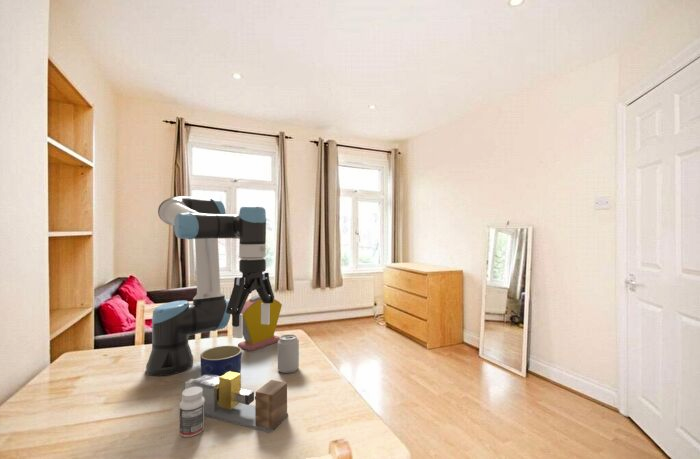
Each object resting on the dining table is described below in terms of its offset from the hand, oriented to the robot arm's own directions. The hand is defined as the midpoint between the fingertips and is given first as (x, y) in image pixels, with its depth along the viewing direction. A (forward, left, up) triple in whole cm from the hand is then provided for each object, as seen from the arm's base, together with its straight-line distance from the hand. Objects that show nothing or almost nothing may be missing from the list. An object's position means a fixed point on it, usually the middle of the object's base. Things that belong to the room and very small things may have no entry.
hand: (252, 330), depth 93 cm
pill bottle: (-5, -17, -21) cm, 27 cm away
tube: (-6, -7, -19) cm, 21 cm away
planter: (-15, +4, -21) cm, 26 cm away
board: (0, -7, -21) cm, 22 cm away
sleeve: (-9, -7, -21) cm, 24 cm away
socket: (+11, -7, -21) cm, 25 cm away
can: (-1, +22, -21) cm, 30 cm away
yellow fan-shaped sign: (-27, +41, -21) cm, 53 cm away
